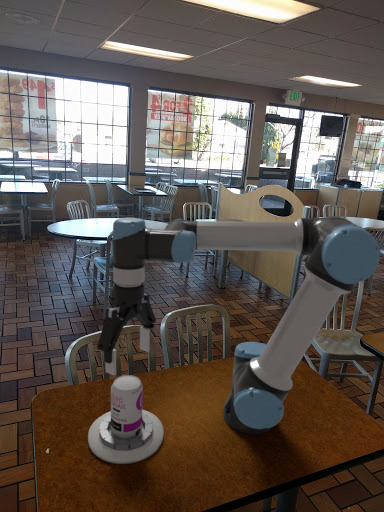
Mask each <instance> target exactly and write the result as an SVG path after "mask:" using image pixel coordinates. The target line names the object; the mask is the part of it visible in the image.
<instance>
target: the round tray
mask: <svg viewBox="0 0 384 512" xmlns="http://www.w3.org/2000/svg"><path fill="white" fill-rule="evenodd" d="M163 439H164V425H163V423H162V421H161V420H160V419H159V417H157V416H156V415H155V414H153V413H152V412H150V411H147V410H145V409H142V430H141V433H140V434H139V435H138V436H137V437H135V438H133V439H130V440H119V439H117V438H116V437H114V436H113V435H112V433H111V410H110V411H108V412H106V413H104V414H102V415H101V416H99V417H98V418H96V419H95V420H94V421H93V423H92V424H91V425H90V427H89V430H88V434H87V442H88V446H89V448H90V450H91V453H93V454H94V455H95V456H96V457H98V458H99V459H101V460H102V461H105V462H107V463H112V464H118V465H120V464H121V465H126V464H133V463H138V462H140V461H141V462H142V461H143V460H145V459H148V458H149V457H151V456H152V455H153V454H155V453H156V452H157V451H158V450H159V448H160V447H161V445H162V444H163Z"/></svg>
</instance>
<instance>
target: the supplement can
mask: <svg viewBox="0 0 384 512" xmlns="http://www.w3.org/2000/svg"><path fill="white" fill-rule="evenodd" d="M143 390H144V386H143V383H142V381H141V379H140V378H139V377H137V376H135V375H131V374H124V375H120V376H118V377H116V378H115V379H114V381H113V383H112V385H111V387H110V411H111V433H112V435H113V436H114V437H116V438H117V439H119V440H130V439H133V438H135V437H137V436H138V435H139V434H140V433H141V430H142V410H143V395H144V391H143Z"/></svg>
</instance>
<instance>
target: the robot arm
mask: <svg viewBox="0 0 384 512" xmlns="http://www.w3.org/2000/svg"><path fill="white" fill-rule="evenodd" d="M111 241H112V266H113V267H112V270H113V271H112V273H113V274H112V275H113V277H112V278H113V279H112V281H113V282H114V283H113V284H112V297H113V299H114V301H115V306H114V307H112V308H111V307H107V308H106V309H105V319H104V323H103V325H102V328H101V332H100V335H99V339H98V342H97V346H96V350H98V351H100V352H103V361H104V364H105V368H104V369H105V373H107V374H109V375H112V376H116V375H117V349H115V347H116V344H117V343H118V339H119V337H120V336H121V333H122V331H123V330H124V329H123V328H124V326H126V325H127V324H128V322H129V321H131V320H132V319H137V321H138V322H139V323H140V324H141V325H142V326H140V328H139V350H142V351H143V352H144V351H145V352H147V353H149V352H150V349H151V348H150V347H151V346H150V345H151V344H150V343H151V342H150V340H151V339H150V338H151V329H154V328H155V324H156V322H157V319H156V316H155V314H154V311H153V308H152V305H151V302H150V294H147V293H145V283H144V282H145V280H146V279H145V278H146V275H145V274H146V273H145V271H146V270H145V269H146V265H145V262H146V261H152V262H162V263H163V262H165V263H176V264H186V263H187V264H190V263H193V262H194V261H195V257H196V250H200V251H203V250H208V251H257V252H260V251H265V252H267V251H268V252H293V253H295V254H296V255H297V256H307V257H308V259H307V260H306V263H305V264H304V266H303V268H304V271H305V277H304V279H303V281H302V283H301V284H300V286H299V288H298V290H297V291H296V293H295V295H294V297H293V299H292V301H291V302H290V303H289V305H288V307H287V308H286V311H285V312H284V314H283V316H282V318H281V319H280V321H279V322H278V324H277V326H276V328H275V330H274V331H273V333H272V335H271V337H270V338H269V340H268V341H267V343H262V342H257V341H245V342H241V343H238V344H237V345H236V347H235V350H234V354H233V355H234V357H233V358H234V359H233V360H234V361H233V367H232V368H233V370H232V381H231V390H230V391H229V394H228V396H227V398H226V400H225V402H224V404H223V405H224V406H223V412H222V417H223V419H224V421H225V422H226V423H227V425H228V426H229V427H230V428H232V429H234V430H235V431H238V432H240V433H243V434H249V435H261V434H265V433H267V432H269V431H271V430H272V428H273V427H275V426H276V425H278V424H279V423H280V422H281V421H282V419H283V416H284V411H285V406H284V401H285V399H286V398H287V397H288V394H289V393H290V391H291V390H292V389H293V388H292V387H293V380H292V378H291V377H292V375H293V373H294V372H295V370H296V368H297V367H298V365H299V363H300V362H301V360H302V359H303V357H304V355H305V354H306V352H307V350H308V349H309V347H310V346H311V344H312V342H313V341H314V339H315V337H316V336H317V334H318V333H319V331H320V330H321V328H322V326H323V324H324V323H325V321H326V320H327V318H328V316H329V315H330V314H331V312H332V310H333V308H334V307H335V305H336V304H337V302H338V300H339V299H340V297H341V296H342V295H345V294H350V293H352V291H353V290H354V288H355V287H356V285H357V284H358V283H360V282H362V281H366V280H367V279H368V278H370V277H371V276H372V274H374V273H375V270H376V269H377V267H378V265H379V263H380V253H381V252H380V248H379V245H378V242H377V241H376V239H375V237H374V236H373V235H372V234H371V233H370V232H369V231H368V230H367V229H366V228H364V227H362V226H360V225H358V224H355V223H353V222H352V221H351V220H349V219H346V218H343V217H339V216H338V217H337V216H323V217H322V216H321V217H298V218H297V219H296V220H295V221H238V220H237V221H236V220H234V221H232V220H230V221H225V220H224V221H223V220H221V221H219V220H217V221H215V220H206V221H205V220H187V219H185V218H175V219H174V220H171V221H170V222H168V224H167V225H166V226H165V228H163V229H162V228H149V227H147V225H146V221H145V220H144V219H142V218H137V217H120V218H117V219H116V220H114V222H113V223H112V237H111Z"/></svg>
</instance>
